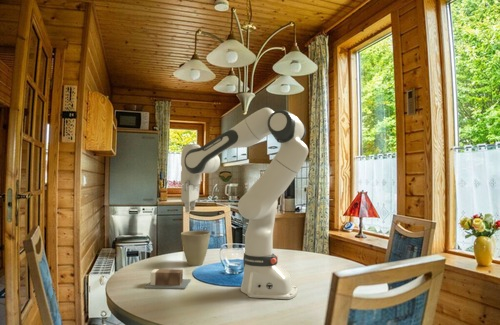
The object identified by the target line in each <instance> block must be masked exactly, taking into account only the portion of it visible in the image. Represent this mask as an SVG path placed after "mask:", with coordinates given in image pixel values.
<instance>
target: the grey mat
mask: <svg viewBox="0 0 500 325" xmlns="http://www.w3.org/2000/svg"><path fill="white" fill-rule="evenodd" d="M190 283H191V278H183V282H182V283H181V284H180V285H150V282H148V283H147V285H145V286H144V289H150V290H151V289H155V290H156V289H157V290H159V289H160V290H186V288H187V287H188V286H189V284H190Z"/></svg>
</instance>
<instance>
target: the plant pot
mask: <svg viewBox="0 0 500 325" xmlns="http://www.w3.org/2000/svg"><path fill="white" fill-rule="evenodd" d="M180 237H181V238H180V239H181V244H182V248H183V253H184V256H185V259H186V262H187V265H188V266H190V267H191V266H192V267H197V266H201V265H203V263H204V262H205V258H206V255H207V252H208V249H209V244H210V237H211V232H210V231H207V230H189V231H183V232H180Z"/></svg>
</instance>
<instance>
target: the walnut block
mask: <svg viewBox="0 0 500 325" xmlns="http://www.w3.org/2000/svg"><path fill="white" fill-rule="evenodd" d="M183 273H184V270H183V269H173V268H172V269H170V268H165V269H164V268H163V269H162V268H154V269H152V271H151V272H150V281H149V283H150V285H180V284H181V283H182V282H183V279H184V278H183V277H184V275H183Z"/></svg>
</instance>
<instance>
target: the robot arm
mask: <svg viewBox="0 0 500 325" xmlns="http://www.w3.org/2000/svg"><path fill="white" fill-rule="evenodd" d="M306 134H307V129H306V126H305V123H304V122H303V121H302V120H300V118H299V117H298V116H296V115H295V114H294V113H291V111H289V110H286V109H278V110H275V111H274V110H273V109H272V108H270V107H263V108H260V109H259V110H256V111H255V112H253V113H251V114H250V115H247V117H245V118H244V119H243V120H241V121H240V122H238V123H237V124H235V125H234V126H233V127H231V128H229V129H228V130H226V131H224V132H223V133H221V134H219V135H218V136H216V137H215V138H213V139H211V140H210V141H208V142H207V143H206V144H204V145H202V146H200V144H198V143H197V144H196V143H192V144H186V145H184V146H183V147H182V150H181V157H180V165H181V171H180V185H182V186H181V194H180V195H181V196H180V201H181V203H184V208H185V213H190V212H191V211H195V209H196V208H195V207H196V203H197V202H196V201H198V200H199V197H200V189H201V188H200V186H201V184H202V179H201V174H212V173H213V174H214V173H216V172H217V171H218V170H219V169H220V167H221V158H220V156H219V155H220V154H221V153H224V152H225V151H227V150H230V149H238V148H239V149H240V148H249V147H251V146H254V145H256V144H257V143H259V142H260V141H262V140H263V139H265V138H266V137H268V136H269V135H272V136H273V137H274V139H275V140H276V142H277V143H279V144H280V147H279V149H278V151H277V152H276V154H275V156H274V157H273V159H272V160H271V161H270V163H269V164H268V165H267V168H266V169H265V170H264V172H262V175H261V176H259V178H258V179H257V180H256V181H255V182H254V183H253V184H252V185H251V187H249V188H248V190H247V191H246V192H245V193H244V194H243V195H242V196H241V197H240V199H239V200H238V203H237V210H238V212H239V214H240V215H241V216H242V218H244V219H246V220H248V224H247V227H246V231H245V233H244V253H243V260H242V261H243V264H242V265H243V277H242V280H241V282H242V283H241V284H240V285H241V286H240V288H239V289H240V291H241V292H242V293H243V294H245V295H247V296H248V297H249V298H256V299H257V298H258V299H259V298H260V299H275V300H291V299H293V298H295V297H296V296H297V295H298V293H299V290H298V289H299V288H298V287H297V286H296V285H294V284H293V281H292V277H291V274H290V273H289V272H288V271H287V270H286V269H285V268H283V267H282V266H281V265H280V264H278V259H279V258H278V257H279V256H278V254H277V255H275V254H274V253H273V250H274V247H273V245H274V244H273V242H274V241H273V240H274V226H275V222H276V221H275V220H276V214H277V209H278V205H279V202H278V199H279V198H280V197H281V196H282V195H283V193H285V191H286V190H287V189H288V188H289V186H290V185H291V183H292V182H293V181H294V179H295V178H296V176H297V175H298V173H299V171H300V170H301V169H302V167H303V165H304V164H305V161H306V159H307V157H308V156H309V148H308V145H307V144H306V143H305V142H304V141H303V140H304V139H305V137H306Z"/></svg>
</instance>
